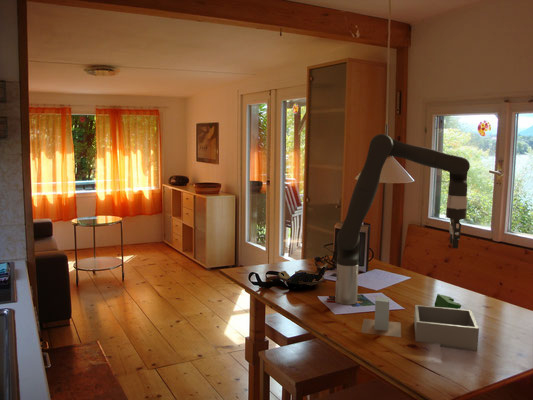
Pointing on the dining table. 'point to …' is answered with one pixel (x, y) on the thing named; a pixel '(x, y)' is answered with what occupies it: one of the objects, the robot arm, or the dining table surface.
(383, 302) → the pale grey rectangular block
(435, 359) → the dining table surface
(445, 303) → the clamp
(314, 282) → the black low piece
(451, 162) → the robot arm
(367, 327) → the stud block
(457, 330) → the bin
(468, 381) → the dining table surface
